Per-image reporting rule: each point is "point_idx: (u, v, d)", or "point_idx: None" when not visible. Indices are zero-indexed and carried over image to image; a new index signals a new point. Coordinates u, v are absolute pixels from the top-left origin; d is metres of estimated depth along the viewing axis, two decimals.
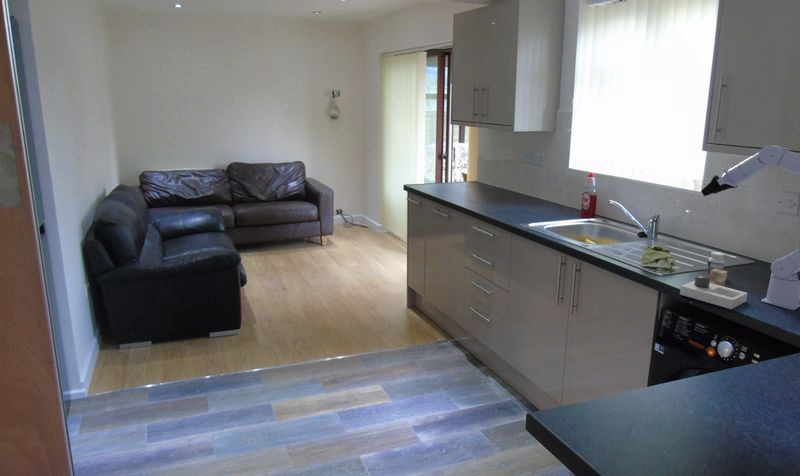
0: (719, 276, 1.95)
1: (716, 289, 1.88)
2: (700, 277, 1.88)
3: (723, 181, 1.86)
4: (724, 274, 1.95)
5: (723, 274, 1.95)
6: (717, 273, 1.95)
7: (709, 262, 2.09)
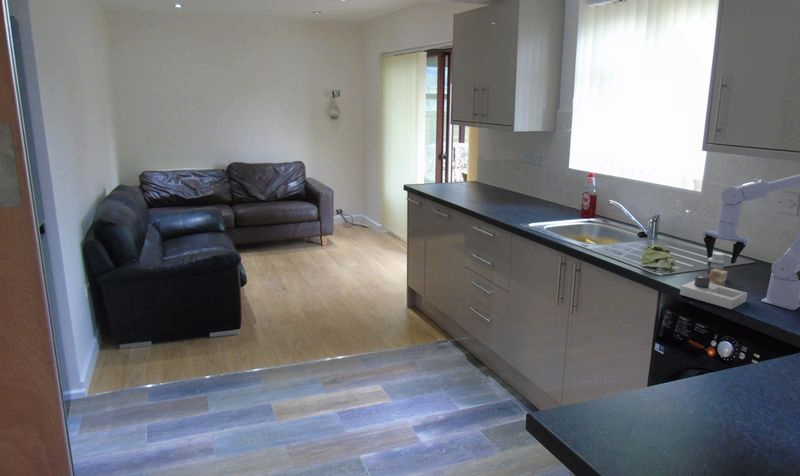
0: (719, 276, 1.95)
1: (716, 289, 1.88)
2: (700, 277, 1.88)
3: (749, 240, 1.89)
4: (724, 274, 1.95)
5: (723, 274, 1.95)
6: (717, 273, 1.95)
7: (709, 262, 2.09)
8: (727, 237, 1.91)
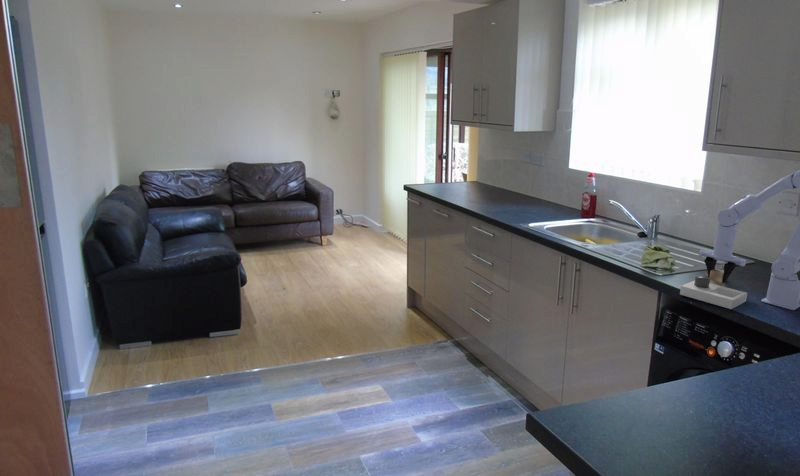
0: (719, 276, 1.95)
1: (716, 289, 1.88)
2: (700, 277, 1.88)
3: (745, 261, 1.91)
4: None
5: (723, 274, 1.95)
6: (717, 273, 1.95)
7: None
8: (723, 258, 1.93)
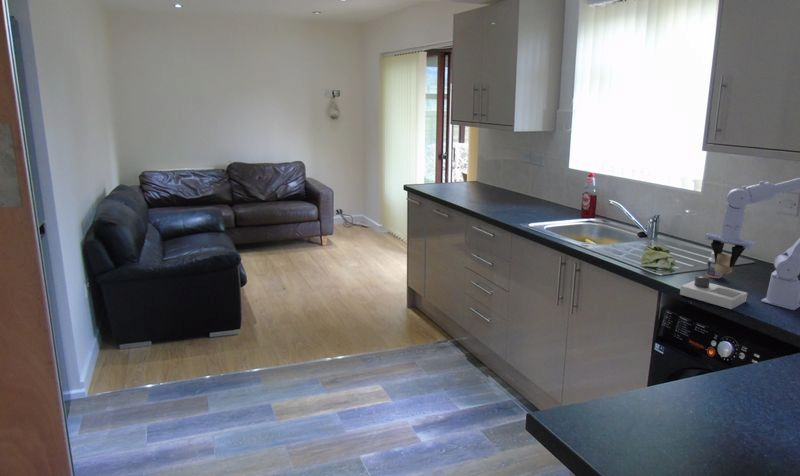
0: (727, 260, 1.88)
1: (716, 289, 1.88)
2: (700, 277, 1.88)
3: (753, 244, 1.83)
4: None
5: None
6: (724, 257, 1.88)
7: (709, 262, 2.09)
8: (731, 241, 1.85)
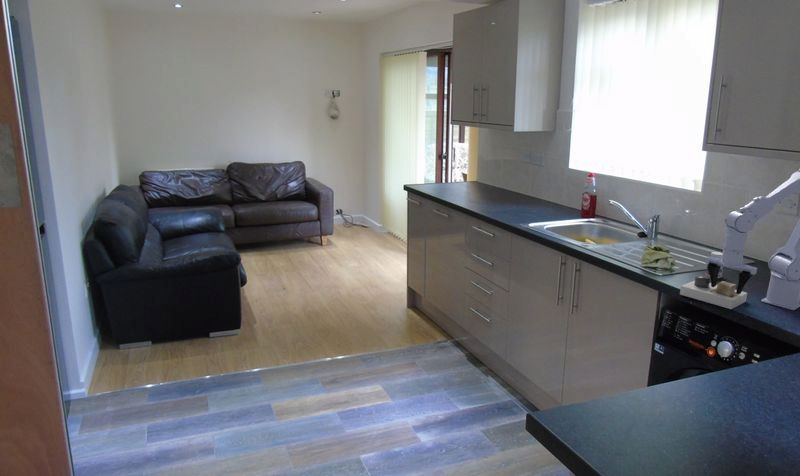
0: (727, 290, 1.81)
1: (716, 289, 1.88)
2: (700, 277, 1.88)
3: (756, 269, 1.76)
4: (732, 287, 1.82)
5: (731, 287, 1.81)
6: (725, 286, 1.82)
7: None
8: (732, 266, 1.79)
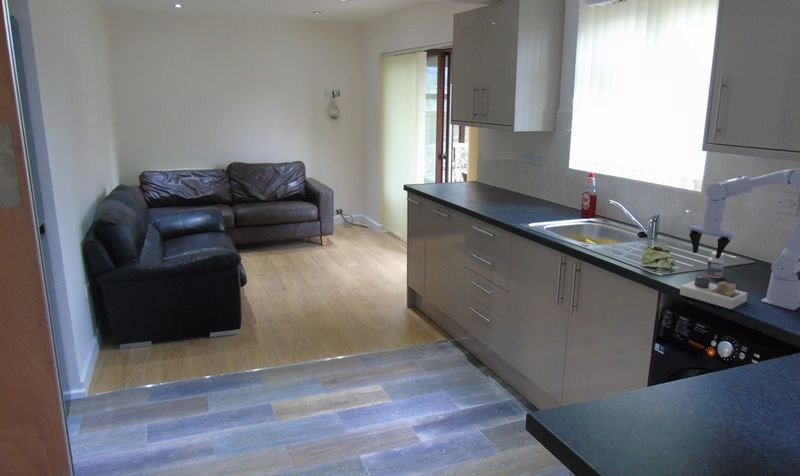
0: (727, 290, 1.81)
1: (716, 289, 1.88)
2: (700, 277, 1.88)
3: (733, 235, 1.92)
4: (732, 287, 1.82)
5: (731, 287, 1.81)
6: (725, 286, 1.82)
7: (709, 262, 2.09)
8: (712, 232, 1.94)
